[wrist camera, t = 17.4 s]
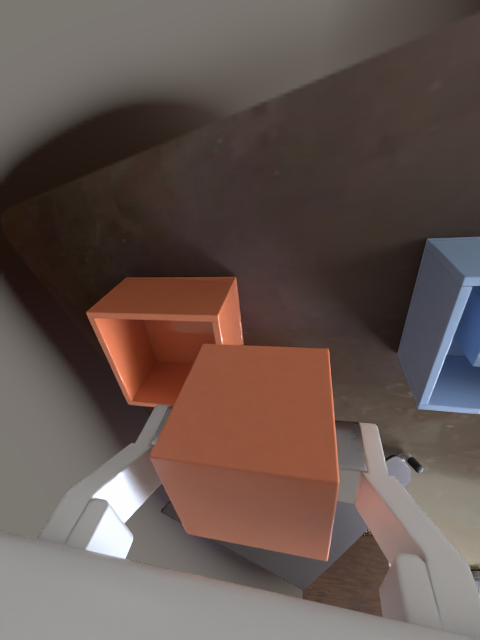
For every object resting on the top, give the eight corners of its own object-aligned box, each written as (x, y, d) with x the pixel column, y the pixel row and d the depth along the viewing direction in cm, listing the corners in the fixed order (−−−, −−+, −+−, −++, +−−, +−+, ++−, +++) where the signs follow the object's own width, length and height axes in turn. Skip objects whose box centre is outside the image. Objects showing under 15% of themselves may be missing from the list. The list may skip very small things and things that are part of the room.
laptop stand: (394, 433, 42) (443, 483, 33) (289, 538, 45) (308, 610, 36) (279, 340, 37) (301, 370, 28) (167, 466, 40) (156, 529, 31)
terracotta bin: (126, 277, 29) (85, 312, 23) (236, 276, 26) (217, 315, 21) (155, 361, 35) (128, 404, 30) (246, 367, 32) (234, 415, 27)
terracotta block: (202, 343, 11) (147, 456, 7) (328, 347, 10) (340, 482, 6) (220, 420, 13) (186, 534, 10) (322, 430, 12) (328, 562, 9)
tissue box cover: (303, 537, 54) (302, 610, 46) (384, 535, 48) (399, 620, 40) (356, 591, 64) (363, 658, 56) (428, 595, 58) (448, 672, 50)
